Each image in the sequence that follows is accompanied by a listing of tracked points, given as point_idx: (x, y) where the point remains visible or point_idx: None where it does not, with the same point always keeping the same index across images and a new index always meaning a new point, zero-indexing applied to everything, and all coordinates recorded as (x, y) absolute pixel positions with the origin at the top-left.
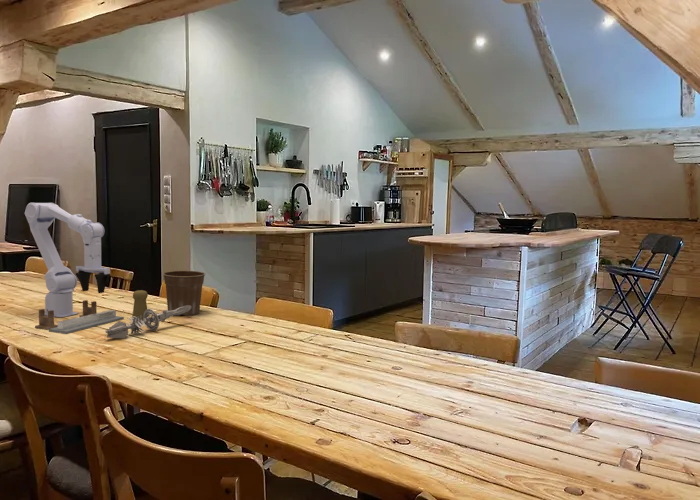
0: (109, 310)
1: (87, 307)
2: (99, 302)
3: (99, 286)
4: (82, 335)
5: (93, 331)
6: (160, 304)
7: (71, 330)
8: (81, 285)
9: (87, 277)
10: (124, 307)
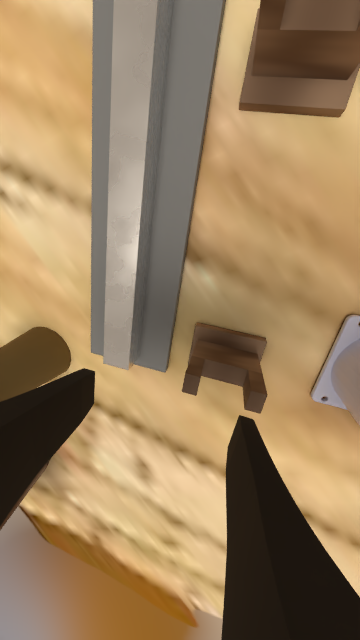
0: (123, 355)
1: (232, 369)
2: (339, 566)
3: (29, 391)
4: (23, 8)
5: (42, 114)
6: (134, 529)
7: (93, 19)
8: (265, 459)
9: (233, 616)
10: (206, 499)
